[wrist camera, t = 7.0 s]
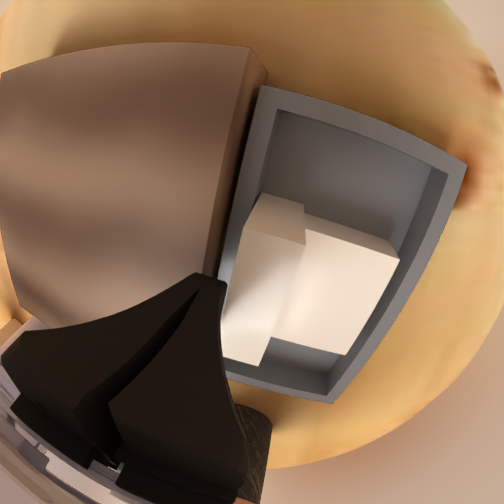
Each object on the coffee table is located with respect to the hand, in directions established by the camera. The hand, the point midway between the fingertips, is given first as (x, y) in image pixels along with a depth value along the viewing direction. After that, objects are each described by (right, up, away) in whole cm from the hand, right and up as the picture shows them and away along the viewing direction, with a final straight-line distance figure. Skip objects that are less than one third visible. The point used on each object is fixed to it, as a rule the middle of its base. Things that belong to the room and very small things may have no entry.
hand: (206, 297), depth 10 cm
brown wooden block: (-7, +4, +5) cm, 10 cm away
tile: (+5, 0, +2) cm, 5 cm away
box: (+5, +1, +4) cm, 6 cm away
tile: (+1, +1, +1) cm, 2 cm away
